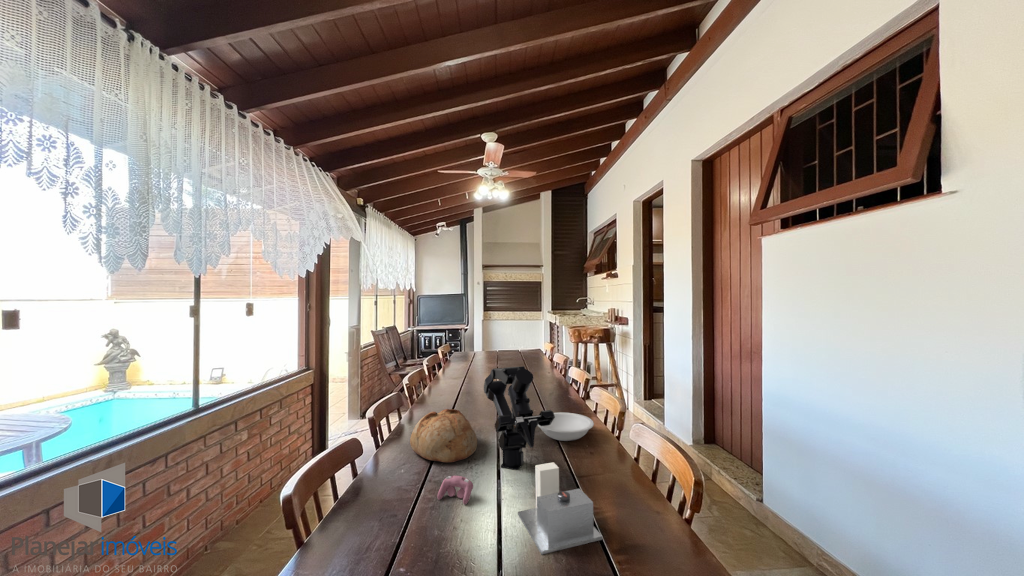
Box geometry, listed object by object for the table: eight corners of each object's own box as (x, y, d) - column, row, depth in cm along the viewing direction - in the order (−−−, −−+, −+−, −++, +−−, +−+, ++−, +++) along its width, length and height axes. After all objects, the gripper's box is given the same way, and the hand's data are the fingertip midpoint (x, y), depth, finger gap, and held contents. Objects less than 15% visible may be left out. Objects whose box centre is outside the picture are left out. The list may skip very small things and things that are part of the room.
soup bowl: (599, 449, 144) (599, 431, 144) (537, 449, 144) (536, 432, 144) (588, 426, 168) (587, 412, 168) (534, 427, 168) (534, 412, 168)
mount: (517, 514, 102) (517, 476, 102) (570, 503, 107) (570, 467, 107) (541, 554, 86) (540, 509, 86) (602, 539, 91) (601, 496, 91)
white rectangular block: (535, 507, 103) (535, 465, 104) (554, 503, 105) (553, 462, 105) (550, 528, 94) (549, 482, 94) (570, 523, 96) (569, 478, 96)
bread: (488, 455, 139) (487, 415, 140) (428, 473, 126) (427, 428, 127) (457, 434, 161) (456, 399, 162) (403, 447, 148) (403, 408, 149)
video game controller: (472, 505, 110) (476, 478, 113) (465, 505, 106) (470, 477, 109) (442, 499, 113) (446, 473, 116) (434, 499, 109) (440, 473, 112)
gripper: (538, 409, 132) (552, 453, 122) (487, 415, 126) (497, 462, 116) (547, 393, 125) (563, 438, 115) (494, 398, 119) (504, 447, 109)
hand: (532, 447), depth 114 cm, fingers closed
